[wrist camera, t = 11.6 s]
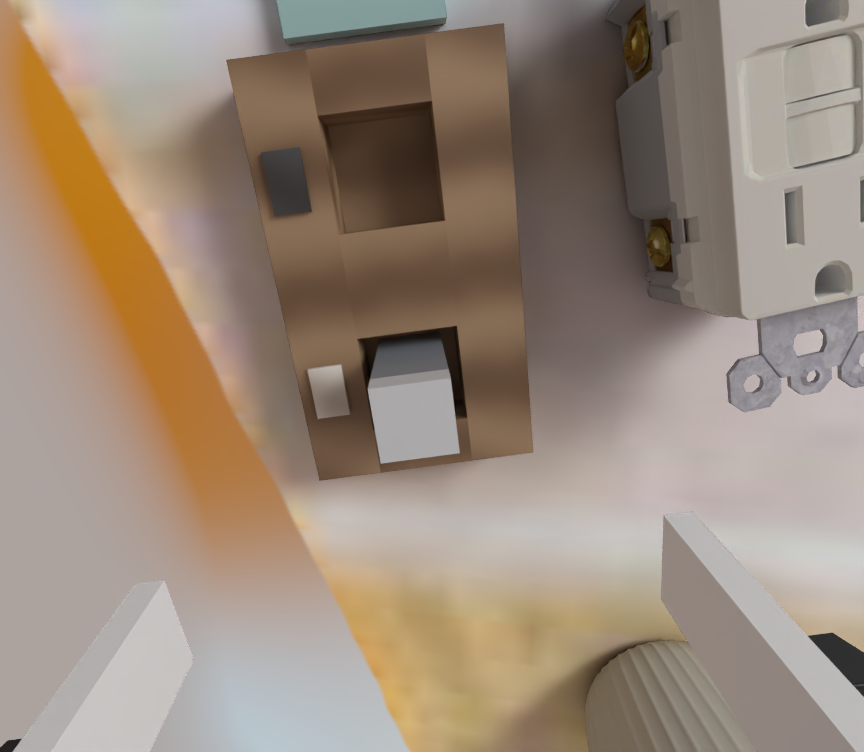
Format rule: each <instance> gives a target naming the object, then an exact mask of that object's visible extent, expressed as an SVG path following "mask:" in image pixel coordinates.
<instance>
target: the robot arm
mask: <svg viewBox="0 0 864 752" xmlns="http://www.w3.org/2000/svg"><path fill="white" fill-rule="evenodd" d="M661 600H662V602H663V603H664V605H665V606H666V608H667V610H668V611H669V613H670V614H671V616H672V617H673V619H674V621H675V622H676V624H677V625H678V627H679V628H680V630H681V632H682V633H683V635H684V636H685V638H686V640H687V641H688V643H689V644H690V646H691V647H692V649H693V651H694V652H695V654H696V655H697V657H698V658H699V660H700V662H701V663H702V665H703V666H704V668H705V669H706V671H707V673H708V674H709V676H710V677H711V679H712V680H713V682H714V684H715V685H716V687H717V688H718V690H719V692H720V693H721V695H722V696H723V698H724V699H725V701H726V703H727V704H728V706H729V707H730V709H731V710H732V712H733V714H734V715H735V717H736V718H737V720H738V721H739V723H740V725H741V726H742V728H743V729H744V731H745V733H746V734H747V736H748V737H749V739H750V740H751V742H752V744H753V745H754V747H755V748H756V750H757V751H758V752H864V652H862V651H860V650H859V649H857V648H856V647H854V646H852V645H851V644H849V643H848V642H846V641H845V640H843V639H841V638H840V637H838V636H837V635H835V634H834V633H827V634H819V635H811V636H807V635H806V634H805V633H804V632H803V631H802V629H801V628H800V627H799V626H798V625H797V624H796V623H795V622H794V621H793V620H792V619H791V618H790V616H789V615H788V614H787V613H786V612H785V611H784V610H783V609H782V608H781V607H780V606H779V605H778V603H777V602H776V601H775V600H774V599H773V598H772V597H771V596H770V595H769V594H768V593H767V591H766V590H765V589H764V588H763V587H762V586H761V585H760V584H759V583H758V582H757V581H756V580H755V578H754V577H753V576H752V575H751V574H750V573H749V572H748V571H747V570H746V569H745V568H744V566H743V565H742V564H741V563H740V562H739V561H738V560H737V559H736V558H735V557H734V556H733V555H732V553H731V552H730V551H729V550H728V549H727V548H726V547H725V546H724V545H723V544H722V543H721V542H720V540H719V539H718V538H717V537H716V536H715V535H714V534H713V533H712V532H711V531H710V530H709V528H708V527H707V526H706V525H705V524H704V523H703V522H702V521H701V520H700V519H699V518H698V517H697V515H696V514H695V513H694V512H685V513H678V514H670V515H664V520H663V552H662V584H661ZM193 660H194V659H193V656H192V654H191V651H190V648H189V646H188V643H187V640H186V638H185V635H184V632H183V629H182V627H181V624H180V621H179V619H178V616H177V613H176V610H175V608H174V605H173V602H172V600H171V597H170V594H169V592H168V589H167V586H166V584H165V581H164V580H162V581H154V582H146V583H139V584H135V585H134V586H133V588H132V589H131V591H130V592H129V593H128V595H127V596H126V598H125V599H124V600H123V601H122V603H121V604H120V606H119V607H118V608H117V610H116V611H115V612H114V614H113V615H112V617H111V618H110V619H109V621H108V622H107V623H106V625H105V626H104V627H103V629H102V630H101V632H100V633H99V634H98V636H97V637H96V638H95V640H94V641H93V643H92V644H91V645H90V647H89V648H88V649H87V651H86V652H85V653H84V655H83V656H82V658H81V659H80V661H79V662H78V663H77V664H76V666H75V667H74V668H73V670H72V671H71V673H70V674H69V675H68V677H67V678H66V680H65V681H64V682H63V684H62V685H61V686H60V688H59V689H58V690H57V692H56V693H55V694H54V696H53V697H52V699H51V700H50V701H49V703H48V704H47V705H46V707H45V708H44V710H43V711H42V712H41V714H40V715H39V716H38V718H37V719H36V720H35V722H34V723H33V725H32V726H31V727H30V729H29V730H28V731H27V733H26V734H25V736H24V737H23V738H22V739H16V740H9V741H7V742H6V743H5V744H4V745H3V746H2V747H0V752H150V750H151V748H152V746H153V743H154V741H155V739H156V737H157V735H158V733H159V731H160V729H161V727H162V725H163V723H164V721H165V718H166V716H167V714H168V712H169V710H170V708H171V706H172V704H173V702H174V700H175V698H176V696H177V694H178V691H179V689H180V687H181V685H182V683H183V681H184V679H185V677H186V675H187V673H188V671H189V669H190V666H191V664H192V662H193Z"/></svg>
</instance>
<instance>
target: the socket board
mask: <svg viewBox="0 0 864 752" xmlns="http://www.w3.org/2000/svg"><path fill="white" fill-rule="evenodd" d="M226 61H227V66H228V70H229V75H230V79H231V84H232V88H233V93H234V97H235V102H236V106H237V111H238V115H239V120H240V124H241V129H242V133H243V138H244V142H245V147H246V151H247V156H248V160H249V165H250V169H251V174H252V178H253V183H254V187H255V192H256V196H257V201H258V205H259V210H260V214H261V219H262V223H263V228H264V232H265V237H266V241H267V246H268V250H269V255H270V259H271V264H272V268H273V273H274V277H275V282H276V286H277V291H278V295H279V300H280V304H281V309H282V313H283V318H284V322H285V327H286V331H287V336H288V340H289V345H290V349H291V354H292V358H293V363H294V367H295V372H296V376H297V381H298V385H299V390H300V394H301V399H302V403H303V408H304V412H305V417H306V421H307V426H308V430H309V435H310V439H311V444H312V448H313V453H314V457H315V462H316V466H317V471H318V475H319V480H328V479H335V478H343V477H351V476H358V475H366V474H373V473H381V472H388V471H396V470H403V469H411V468H419V467H426V466H434V465H441V464H449V463H456V462H464V461H471V460H479V459H487V458H494V457H502V456H509V455H517V454H524V453H532V452H533V442H532V428H531V413H530V398H529V384H528V369H527V355H526V340H525V325H524V311H523V296H522V281H521V267H520V252H519V238H518V223H517V208H516V194H515V179H514V164H513V150H512V135H511V120H510V106H509V91H508V77H507V62H506V47H505V33H504V23H503V24H495V25H487V26H480V27H472V28H465V29H457V30H450V31H442V32H434V33H427V34H419V35H412V36H404V37H397V38H389V39H381V40H374V41H366V42H359V43H351V44H344V45H336V46H328V47H321V48H313V49H306V50H298V51H291V52H283V53H275V54H268V55H260V56H253V57H245V58H238V59H230V60H226ZM436 331H439V332H440V336H441V340H442V344H443V348H444V352H445V357H446V361H447V365H448V369H449V373H450V377H451V384H452V392H453V401H454V409H455V417H456V426H457V434H458V442H459V451H460V453H457V454H450V455H442V456H435V457H427V458H420V459H412V460H404V461H397V462H389V463H382V464H381V462H380V457H379V451H378V445H377V440H376V434H375V428H374V423H373V417H372V411H371V406H370V400H369V394H368V386H369V381H370V377H371V373H372V369H373V365H374V361H375V357H376V352H377V348H378V344H379V340H380V339H383V338H391V337H398V336H406V335H413V334H421V333H428V332H436Z"/></svg>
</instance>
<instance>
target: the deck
mask: <svg viewBox="0 0 864 752" xmlns="http://www.w3.org/2000/svg"><path fill="white" fill-rule="evenodd" d="M277 6H278V11H279V16H280V21H281V27H282V32H283V37H284V40H285V41H286V42H287V44H296V43H303V42H311V41H319V40H326V39H334V38H341V37H349V36H356V35H364V34H372V33H379V32H387V31H394V30H402V29H409V28H417V27H425V26H432V25H440V24H446V18H447V15H446V5H445V0H277Z"/></svg>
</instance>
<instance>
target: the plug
mask: <svg viewBox="0 0 864 752" xmlns="http://www.w3.org/2000/svg"><path fill="white" fill-rule="evenodd" d="M368 394H369V400H370V406H371V411H372V417H373V423H374V428H375V434H376V440H377V445H378V451H379V457H380V462H381V464H382V463H389V462H397V461H404V460H412V459H420V458H427V457H435V456H442V455H450V454H457V453H460V451H459V442H458V434H457V426H456V417H455V409H454V401H453V392H452V384H451V377H450V373H449V369H448V365H447V361H446V357H445V352H444V348H443V344H442V340H441V336H440V332H439V331H436V332H428V333H421V334H413V335H406V336H398V337H391V338H383V339H380V340H379V344H378V348H377V352H376V357H375V361H374V365H373V369H372V373H371V377H370V381H369V386H368Z"/></svg>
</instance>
